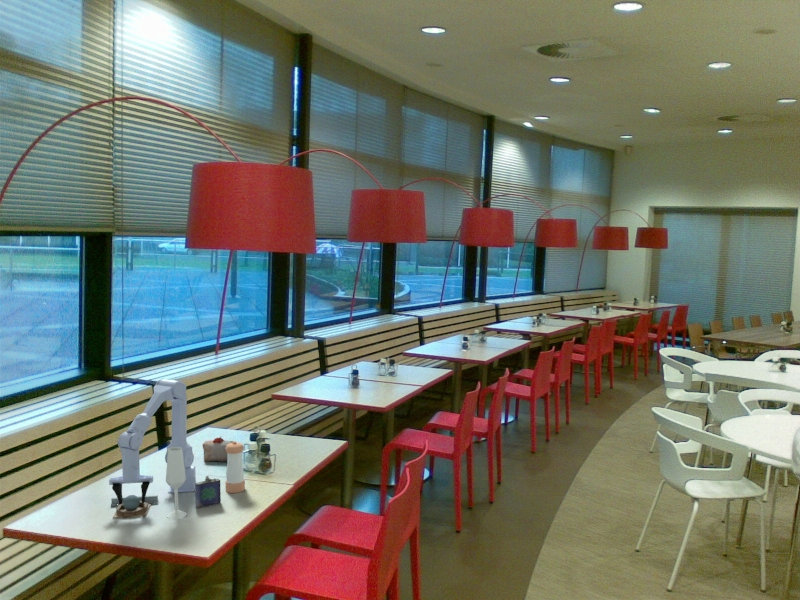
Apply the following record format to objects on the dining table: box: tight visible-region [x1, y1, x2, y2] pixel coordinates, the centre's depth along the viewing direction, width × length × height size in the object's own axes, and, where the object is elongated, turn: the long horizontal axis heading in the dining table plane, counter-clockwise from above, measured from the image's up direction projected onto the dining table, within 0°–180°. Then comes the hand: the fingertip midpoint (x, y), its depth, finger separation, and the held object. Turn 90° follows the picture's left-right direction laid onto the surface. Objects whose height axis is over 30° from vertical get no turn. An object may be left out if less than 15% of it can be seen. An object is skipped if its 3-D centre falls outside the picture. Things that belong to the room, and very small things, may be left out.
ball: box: [123, 494, 140, 511], centre depth 253 cm, size 6×6×6 cm
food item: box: [202, 436, 234, 463], centre depth 310 cm, size 14×8×10 cm, turn 85°
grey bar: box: [110, 494, 159, 507], centre depth 260 cm, size 16×3×2 cm, turn 100°
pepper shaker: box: [225, 440, 246, 494], centre depth 274 cm, size 7×7×19 cm
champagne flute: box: [165, 447, 187, 520], centre depth 249 cm, size 7×7×24 cm
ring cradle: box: [112, 501, 152, 519], centre depth 253 cm, size 11×11×2 cm
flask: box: [194, 475, 222, 509], centre depth 259 cm, size 9×3×11 cm, turn 121°
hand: (132, 502), depth 253 cm, fingers open, 7 cm apart
